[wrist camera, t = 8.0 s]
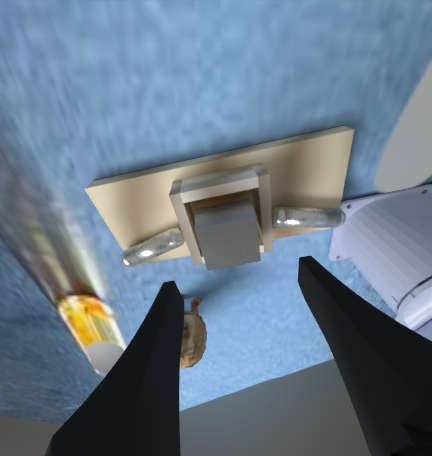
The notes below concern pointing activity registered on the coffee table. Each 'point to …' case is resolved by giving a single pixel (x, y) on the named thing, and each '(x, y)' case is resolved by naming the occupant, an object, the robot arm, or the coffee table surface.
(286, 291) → the coffee table surface
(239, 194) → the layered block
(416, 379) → the robot arm
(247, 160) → the shaft board
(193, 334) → the lion figurine
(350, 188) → the coffee table surface
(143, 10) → the coffee table surface
